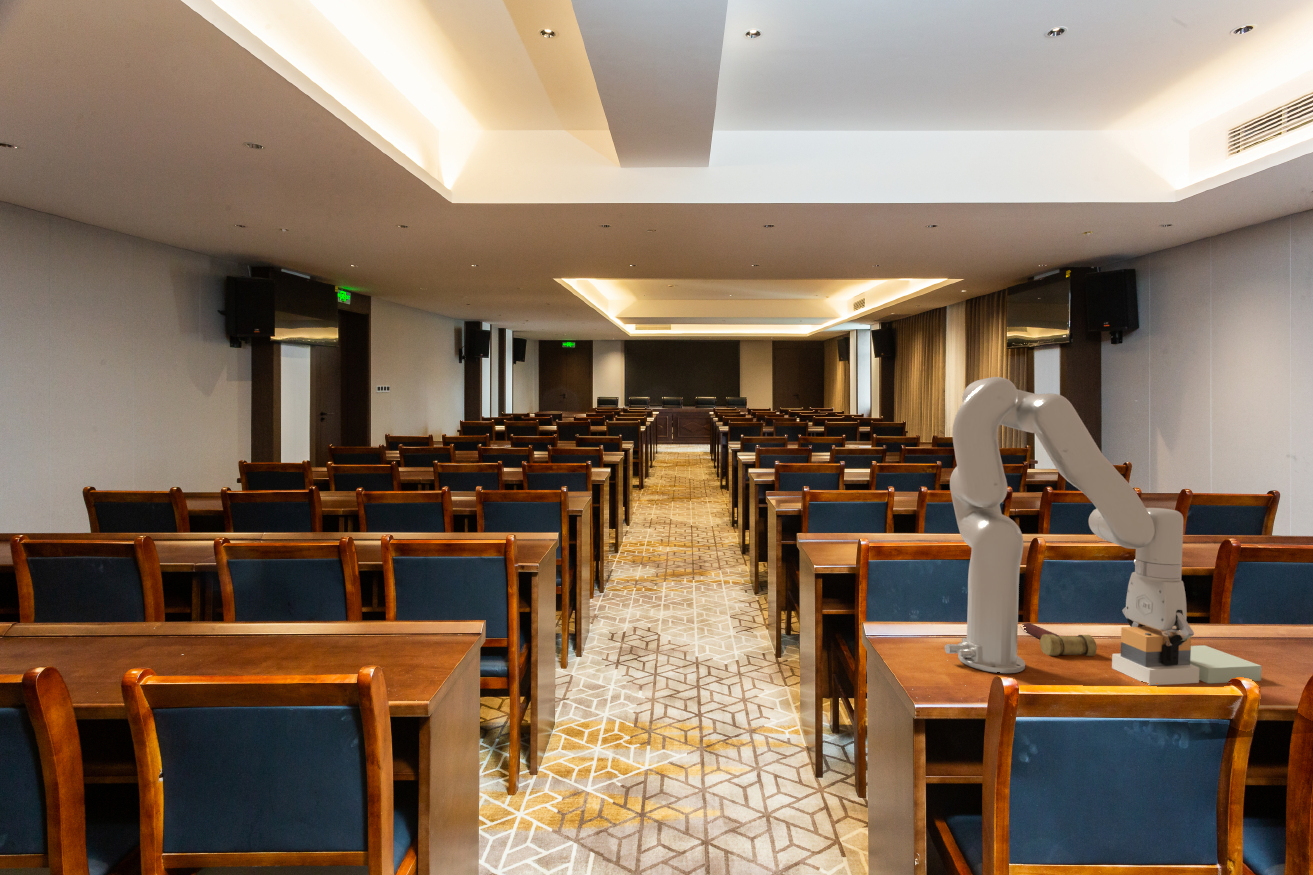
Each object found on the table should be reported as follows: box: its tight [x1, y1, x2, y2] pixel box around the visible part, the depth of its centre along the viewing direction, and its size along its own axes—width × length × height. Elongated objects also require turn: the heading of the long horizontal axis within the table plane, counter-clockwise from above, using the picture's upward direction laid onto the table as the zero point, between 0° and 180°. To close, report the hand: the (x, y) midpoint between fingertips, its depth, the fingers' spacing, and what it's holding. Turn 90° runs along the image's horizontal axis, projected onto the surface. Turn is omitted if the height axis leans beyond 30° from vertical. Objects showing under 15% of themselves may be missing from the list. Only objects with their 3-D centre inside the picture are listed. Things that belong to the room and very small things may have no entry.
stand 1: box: [1111, 652, 1200, 686], centre depth 137 cm, size 11×9×3 cm
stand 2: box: [1190, 644, 1262, 684], centre depth 140 cm, size 12×12×3 cm
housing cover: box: [1120, 626, 1192, 652], centre depth 137 cm, size 10×6×3 cm, turn 98°
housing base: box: [1120, 641, 1191, 667], centre depth 137 cm, size 10×6×3 cm, turn 98°
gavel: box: [1021, 622, 1098, 657], centre depth 157 cm, size 21×5×10 cm
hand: (1154, 657), depth 137 cm, fingers closed on housing base, housing cover, 6 cm apart
